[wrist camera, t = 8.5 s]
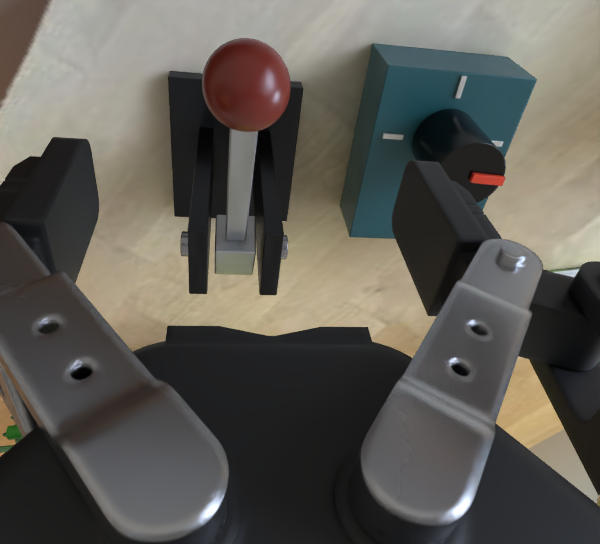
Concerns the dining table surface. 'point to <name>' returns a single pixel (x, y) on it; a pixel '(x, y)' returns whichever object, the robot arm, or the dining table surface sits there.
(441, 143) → the knob
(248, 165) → the lever
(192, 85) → the lever bracket
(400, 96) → the dial panel
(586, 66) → the dining table surface
